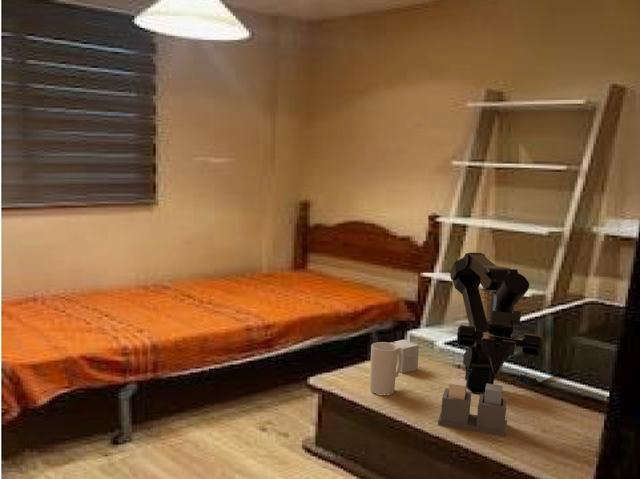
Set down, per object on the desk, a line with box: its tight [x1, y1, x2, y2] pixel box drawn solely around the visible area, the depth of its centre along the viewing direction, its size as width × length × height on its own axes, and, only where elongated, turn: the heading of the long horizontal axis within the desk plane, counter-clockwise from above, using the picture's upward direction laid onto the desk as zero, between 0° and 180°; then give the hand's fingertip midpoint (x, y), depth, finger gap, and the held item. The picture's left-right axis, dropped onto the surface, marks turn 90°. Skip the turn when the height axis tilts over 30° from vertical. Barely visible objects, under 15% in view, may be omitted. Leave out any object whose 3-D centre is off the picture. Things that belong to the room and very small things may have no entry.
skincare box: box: [389, 339, 420, 374], centre depth 177 cm, size 6×6×7 cm
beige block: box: [448, 377, 467, 400], centre depth 144 cm, size 4×4×7 cm
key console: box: [437, 387, 508, 437], centre depth 143 cm, size 6×15×6 cm, turn 72°
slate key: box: [484, 383, 503, 406], centre depth 141 cm, size 4×4×7 cm
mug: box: [369, 341, 402, 396], centre depth 161 cm, size 10×7×12 cm, turn 129°
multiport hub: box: [518, 373, 540, 387], centre depth 174 cm, size 4×14×2 cm, turn 133°
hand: (495, 373), depth 140 cm, fingers closed
